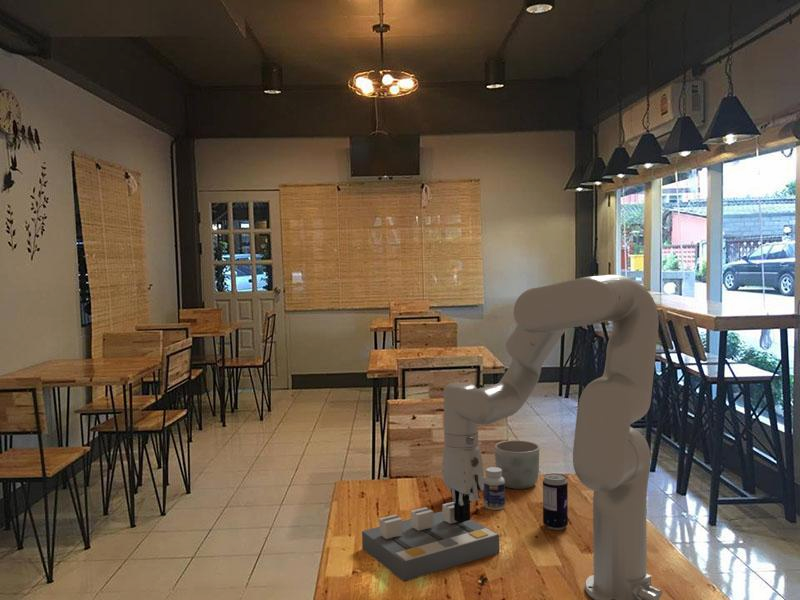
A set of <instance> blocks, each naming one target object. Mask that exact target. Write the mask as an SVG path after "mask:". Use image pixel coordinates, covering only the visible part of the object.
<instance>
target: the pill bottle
mask: <svg viewBox="0 0 800 600" xmlns="http://www.w3.org/2000/svg"><path fill="white" fill-rule="evenodd" d="M485 475H486V476H484V490H483V506H484V508H485V509H488V510H492V511H498V510H503V509H504V508H505V506H506V495H505V494H506V489H505V488H506V487H505V480H504V478H503V477H501V475H502V469H500V468H497V467H496V466H495V467H494V466H490V467H487V468H486V469H485Z"/></svg>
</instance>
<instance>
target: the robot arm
mask: <svg viewBox="0 0 800 600" xmlns="http://www.w3.org/2000/svg"><path fill="white" fill-rule="evenodd" d="M513 318H514V320H515V323H516V326H515V328H514V329H513V331H512V333H510V335H509V337H508V338H507V340H506V341H505V349H506V352H507V354H508V355H509V357H511V362H510V364H509V367H508V368H507V370H506V371H505V373H504V374H503V376H502V377H501V379H500V381H499V382H498V383H495V384H491V385H487V386H484V387H479V388H477V386H476V384H473V383H470V382H451V383H449V384H446V386H445V387H444V388H443V431H444V432H443V433H444V434H443V439H444V441H443V444H444V445H443V452H442V472H441V473H442V481H443V484H444V485H445V487H446V489H448V490H449V491H450V494H451V493H452V496H451V499H452V502H454V520H455V521H457V522H459V523H461V522H465V521H469V520H470V519H471V504H472V502H475V501H479V498H480V497H479V493H481V492H484V478H485V476H484V475H485V474H484V464H483V457H482V451H481V447H479V425H484V426H485V425H489V424H490V425H491V424H492V423H495V422H497V421H498V422H499V421H500V420H503V419H507V418H508V417H511V416H514V415H515V414H516V413H517V412H519V410H521V408H522V407H523V406H524V405H525V404H526V402H527V400H528V399H529V398H530V396H531V395H532V393H533V391H535V389H536V387H537V385H538V382H539V380H540V376H541V373H542V365H543V364H544V362H545V361H546V359H548V358H547V357H548V356H549V355H550V353H551V352H552V350H553V349H554V347H555V346H556V344H557V343H558V341H559V340H560V339H561V337H562V336H563V334H565V332H566V330H567V329H572V328H578V327H583V326H591V325H597V324H601V323H606V322H607V323H608V322H611V323H612V326H611V327H612V328H611V333H610V336H609V338H608V342H607V346H606V355H605V356H606V357H605V364H604V370H603V374H602V376H600V377H598V378H595V379H593V380H592V381H591V382H589V383H588V384H587V385H586V386H585V387H584V389H583V391H582V392H581V393H580V394H581V395H580V396H579V397H580V398H579V400H578V402H577V403H578V405H577V409H576V419H575V428H574V429H575V430H574V440H573V446H572V447H573V449H572V464H573V469H574V473H575V475H576V477H577V478H578V480H579V481H580V483H581V484H582V485H584V486H585V488H588V489H589V490H590V491H593V498H592V499H593V503H592V504H593V505H592V506H593V509H592V513H593V515H592V517H593V518H592V521H593V522H592V523H593V528H592V532H593V534H592V535H593V536H592V537H593V538H592V541H593V542H592V543H593V545H592V546H593V557H592V559H593V560H592V561H593V562H592V563H593V574H591V575H590V576H588V577H587V578H586V580H585V581H584V582H585V583H584V590H585V592H586V594H587V595H588V596H589V597H591V599H593V600H660V598H661V597H662V595H663V591H662V590H661V589H659V588H657V587H655V586H653V585H652V575H651V574H649V573H647V514H648V512H647V511H648V510H647V509H648V505H647V504H648V503H647V501H648V498H647V497H648V485H649V484H648V483H649V477H650V476H649V475H650V470H651V450H650V446H649V443H648V441H647V439H646V438H645V436H644V435H643V434H642V433H641V432H640V431H639V430H638V429H636V428H633V427H632V426H631V424H634V423H635V422H637V421H639V420H641V419H642V418H644V416H645V415H646V414H647V413H648V412H649V409H650V408H651V402H652V393H653V392H652V391H653V383H654V374H655V365H656V352H657V343H658V337H659V324H660V322H659V311H658V308H657V305H656V303H655V300H654V298H653V296H652V295H651V293H650V292H649V291H648V290H647V289H646V287H644V285H642V284H641V283H640V282H638V281H637V280H635V279H633V278H631V277H628V276H626V275H625V276H624V275H621V274H603V275H593V276H592V275H591V276H584V277H579V278H574V279H570V280H567V281H562V282H558V283H557V282H556V283H552V284H549V285H544V286H538V287H533V288H530V289H527V290H525V291H524V292H522V293H521V294H520V295H519V296H518V297H517V299H516V301H515V304H514V306H513Z"/></svg>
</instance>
